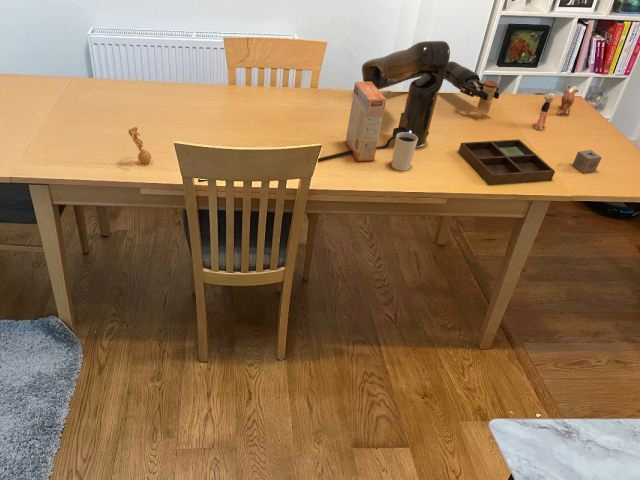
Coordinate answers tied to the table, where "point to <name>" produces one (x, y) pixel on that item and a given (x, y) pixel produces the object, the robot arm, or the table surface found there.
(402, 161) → the white cup
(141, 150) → the figurine
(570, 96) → the bull figurine
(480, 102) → the lidded canister
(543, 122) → the grandmother figurine
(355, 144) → the cracker box
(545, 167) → the grid
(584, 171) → the gray cube
